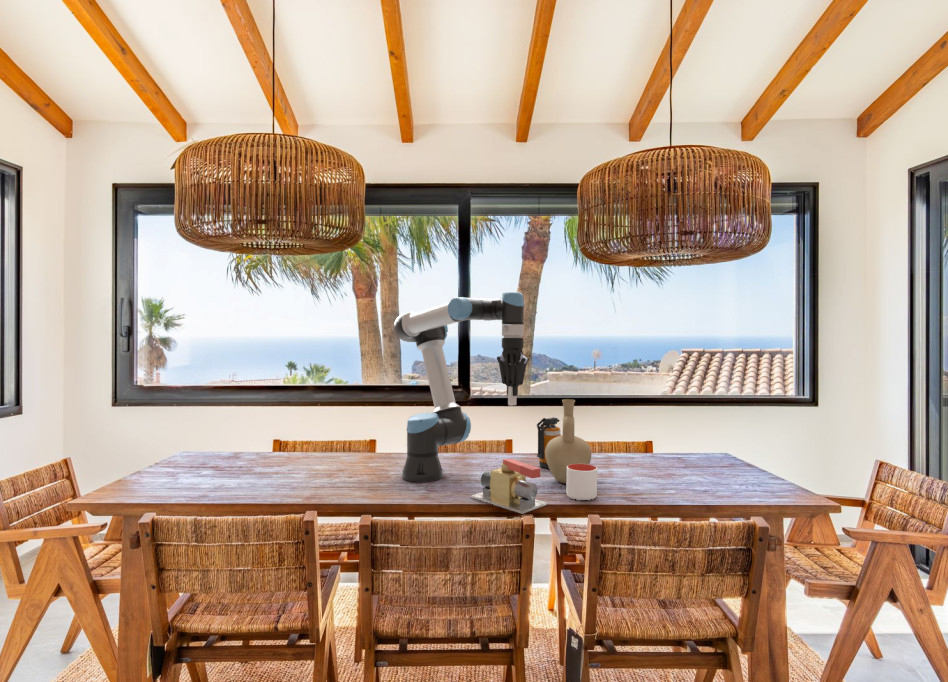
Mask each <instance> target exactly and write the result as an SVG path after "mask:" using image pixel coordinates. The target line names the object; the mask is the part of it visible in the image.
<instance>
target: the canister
mask: <svg viewBox="0 0 948 682" xmlns="http://www.w3.org/2000/svg"><path fill="white" fill-rule="evenodd" d="M560 421H561V420H560V419H558V417H554V416H553V417H549V418H545V417H543V418H542V419H541V420H540V421H539V422H538V423H537V424H536V427H537V454H536V457H537V458H539V459H538V460H539V463H538V465H539V466H540V467H542V468H544V469H549V466H548V464H547V461H546V456H545V449H546V446H547V444H548V443H549V441H551V440H552V439H553V438H555V437H558V436H563V434H561V428H560V426H556V425H557V424H558V423H559V422H560Z"/></svg>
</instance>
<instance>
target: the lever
mask: <svg viewBox="0 0 948 682" xmlns="http://www.w3.org/2000/svg"><path fill="white" fill-rule="evenodd" d="M500 468H501V470H502V471H505V472H513V471H515V472H518V473H520V474H522V475H524V476H526V477H527V478H530V479H537V478H541V468H540V467H537V466H535V465H531V464H527V463H525V462H522V461H519V460H516V459H513V458H505V459H504V458H503V459H502V462H501V467H500Z"/></svg>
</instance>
